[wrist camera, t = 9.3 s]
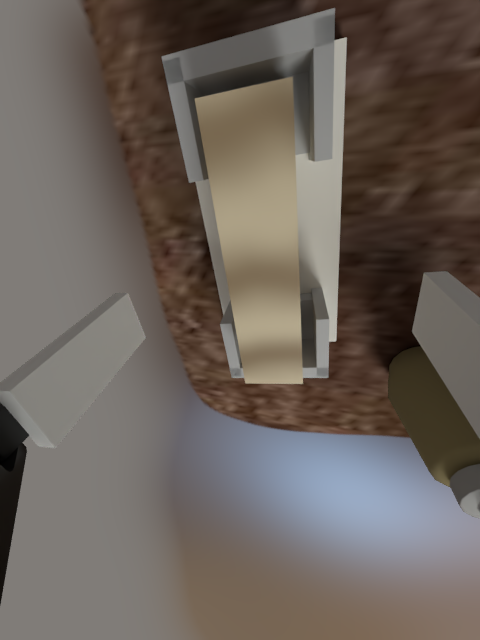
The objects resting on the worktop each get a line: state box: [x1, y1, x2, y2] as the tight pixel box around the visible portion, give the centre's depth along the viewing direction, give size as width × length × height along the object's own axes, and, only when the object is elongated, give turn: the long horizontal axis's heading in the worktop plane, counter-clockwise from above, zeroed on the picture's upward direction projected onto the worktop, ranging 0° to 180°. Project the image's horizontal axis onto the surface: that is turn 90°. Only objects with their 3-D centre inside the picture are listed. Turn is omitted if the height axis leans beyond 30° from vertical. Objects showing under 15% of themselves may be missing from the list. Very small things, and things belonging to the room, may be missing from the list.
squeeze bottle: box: [388, 346, 480, 518], centre depth 23 cm, size 8×8×18 cm
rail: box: [195, 77, 303, 384], centre depth 20 cm, size 18×4×8 cm, turn 8°
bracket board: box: [161, 8, 347, 378], centre depth 22 cm, size 24×12×7 cm, turn 9°
